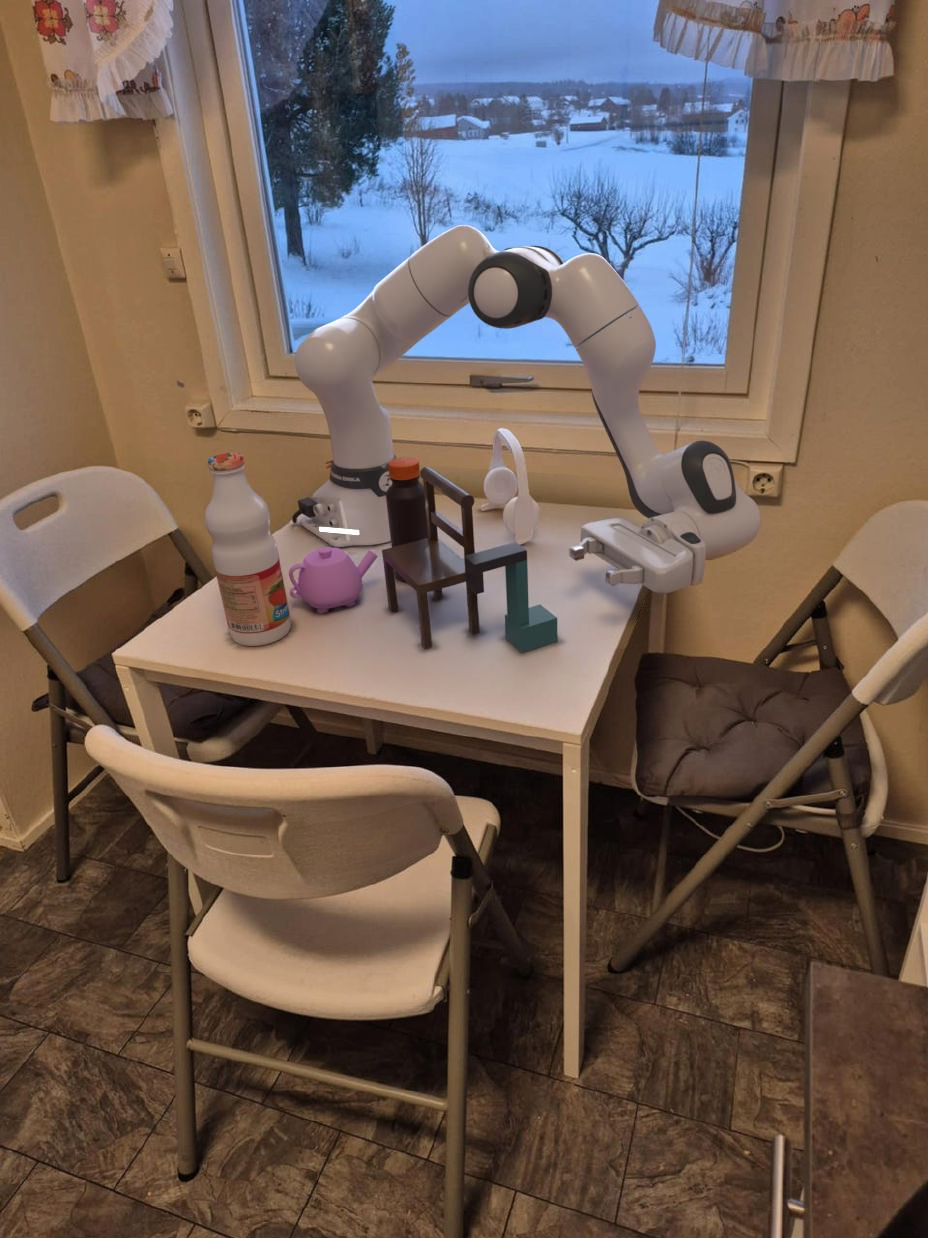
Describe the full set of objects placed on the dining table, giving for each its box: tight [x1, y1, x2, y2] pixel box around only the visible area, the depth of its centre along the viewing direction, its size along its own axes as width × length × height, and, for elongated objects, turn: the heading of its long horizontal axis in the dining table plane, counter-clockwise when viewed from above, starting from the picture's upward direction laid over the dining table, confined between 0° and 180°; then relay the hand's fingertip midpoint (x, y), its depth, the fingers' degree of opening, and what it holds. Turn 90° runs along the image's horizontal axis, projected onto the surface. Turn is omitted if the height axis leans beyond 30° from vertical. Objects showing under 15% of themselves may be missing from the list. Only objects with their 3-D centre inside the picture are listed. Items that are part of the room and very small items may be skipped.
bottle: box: [386, 456, 428, 583], centre depth 141 cm, size 7×7×20 cm
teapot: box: [288, 546, 378, 614], centre depth 137 cm, size 10×15×9 cm
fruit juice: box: [204, 451, 292, 647], centre depth 125 cm, size 9×9×28 cm
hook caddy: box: [463, 541, 559, 654], centre depth 120 cm, size 12×5×16 cm, turn 117°
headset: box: [480, 427, 541, 546], centre depth 157 cm, size 20×7×18 cm, turn 12°
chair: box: [381, 466, 481, 650], centre depth 126 cm, size 9×14×22 cm
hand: (589, 566), depth 124 cm, fingers open, 8 cm apart
